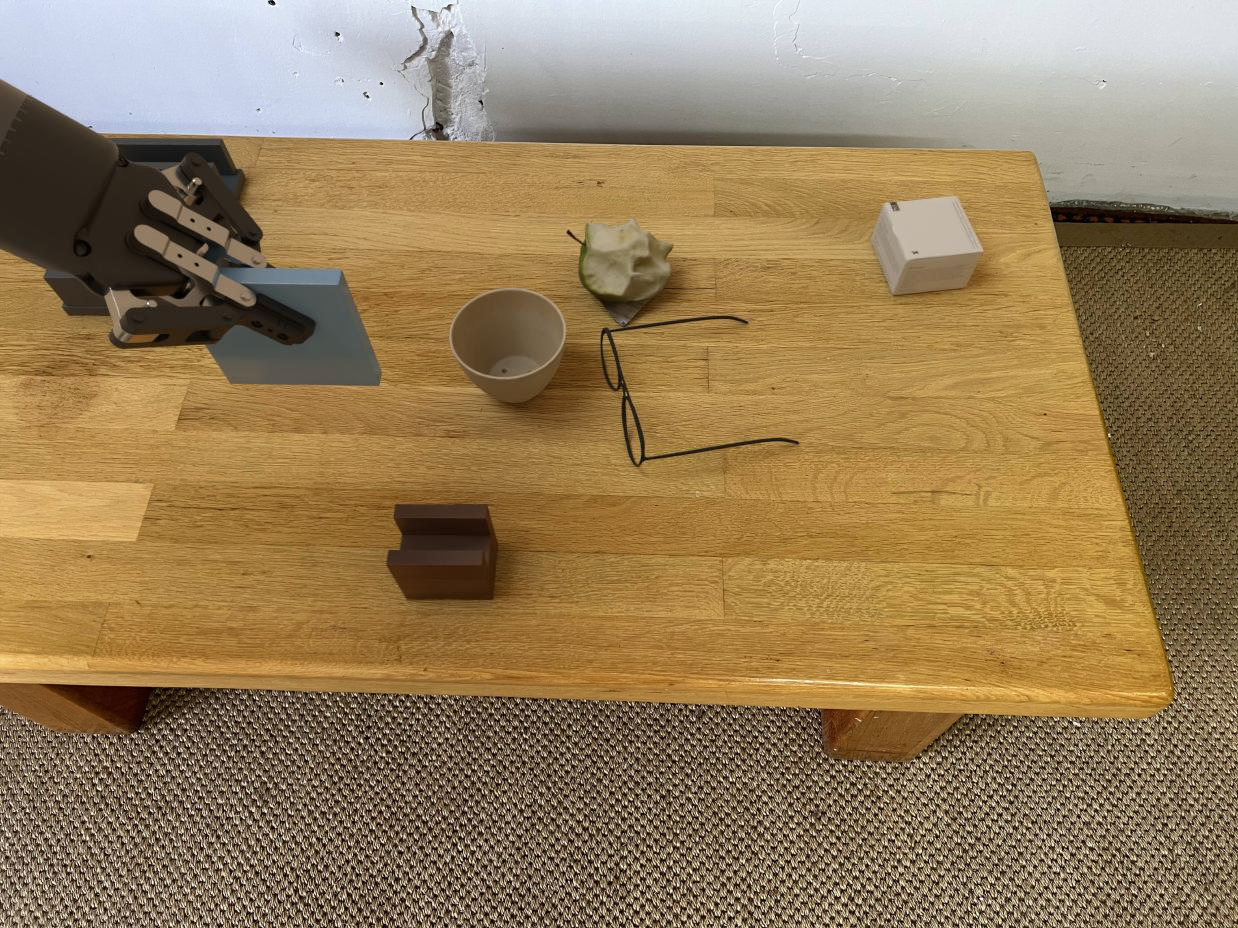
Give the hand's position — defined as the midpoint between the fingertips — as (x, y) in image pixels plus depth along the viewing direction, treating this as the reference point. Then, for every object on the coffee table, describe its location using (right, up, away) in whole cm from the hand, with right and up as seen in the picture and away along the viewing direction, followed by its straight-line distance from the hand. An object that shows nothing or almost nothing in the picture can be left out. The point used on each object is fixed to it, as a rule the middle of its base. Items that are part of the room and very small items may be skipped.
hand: (310, 322), depth 53 cm
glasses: (+26, -3, +26) cm, 37 cm away
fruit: (+19, +9, +33) cm, 39 cm away
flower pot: (+9, -1, +27) cm, 29 cm away
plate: (-2, -3, +5) cm, 6 cm away
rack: (-28, +14, +35) cm, 47 cm away
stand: (+5, -17, +17) cm, 25 cm away
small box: (+49, +11, +34) cm, 61 cm away
